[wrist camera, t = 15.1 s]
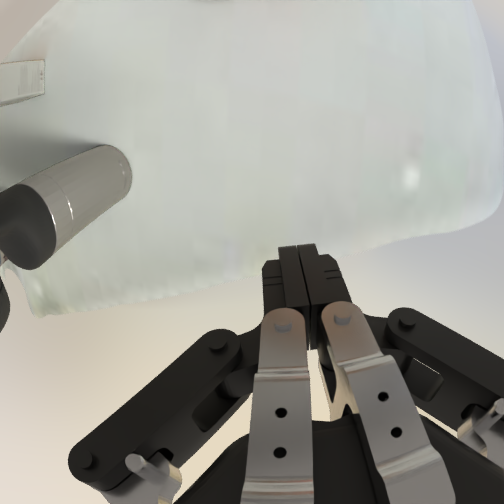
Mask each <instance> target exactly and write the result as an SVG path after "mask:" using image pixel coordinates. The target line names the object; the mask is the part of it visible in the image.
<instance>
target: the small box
mask: <svg viewBox="0 0 504 504" xmlns="http://www.w3.org/2000/svg"><path fill="white" fill-rule="evenodd" d="M44 62H45V61H44V60H32V61H21V62H11V63H3V64H0V107H1V106H5V105H9V104H14V103H18V102H21V101H24V100H27V99H30V98H33V97H36V96H39V95H42V94H44Z"/></svg>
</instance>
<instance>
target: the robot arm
mask: <svg viewBox="0 0 504 504" xmlns="http://www.w3.org/2000/svg"><path fill="white" fill-rule="evenodd" d="M131 183H132V173H131V168H130V165H129V162H128V160H127V158H126V157H125V156H124V155H123V153H122V152H121V151H119V150H118V149H116V148H115V147H112V146H109V145H102V146H98V147H96V148H93V149H90V150H88V151H86V152H83V153H80V154H78V155H76V156H73V157H71V158H69V159H66V160H64V161H62V162H60V163H58V164H55V165H53V166H51V167H49V168H47V169H45V170H43V171H41V172H39V173H37V174H35V175H33V176H31V177H29V178H27V179H25V180H23V181H21V182H20V183H18V184H16V185H14V186H12V187H10V188H8V189H7V190H5V191H3V192H1V193H0V250H1V251H2V252H3V254H4V255H5V256H6V257H7V258H8V259H9V260H10V261H11V262H12V263H14V264H15V265H16V266H18V267H20V268H22V269H26V270H33V269H36V268H38V267H40V266H41V265H42V264H43V263H44V262H46V261H47V260H48V259H49V258H50V257H51V256H52V255H53V254H54V253H56V252H57V251H58V250H59V249H60V248H61V247H62V246H64V245H65V244H66V243H67V242H68V241H69V240H71V239H72V238H73V237H74V236H75V235H77V234H78V233H79V232H80V231H81V230H83V229H84V228H85V227H86V226H88V225H89V224H90V223H91V222H93V221H94V220H95V219H96V218H98V217H99V216H100V215H101V214H103V213H104V212H105V211H107V210H108V209H109V208H111V207H112V206H113V205H115V204H116V203H117V202H119V201H120V200H121V199H123V198H124V197H125V196H126V195H127V193H128V191H129V189H130V187H131ZM278 252H279V259H278V260H269V261H266V263H265V264H264V266H263V268H262V278H263V279H262V280H263V300H264V317H263V320H262V322H261V323H260V324H259V325H258V326H257V327H256V328H255V329H253V330H251V331H249V332H247V333H244V334H241V335H238V336H237V335H236V334H235V333H234V332H232V331H230V330H226V329H216V330H212V331H209V332H207V333H206V334H204V335H203V336H202V337H201V338H200V339H198V340H197V341H196V342H195V343H194V344H193V345H192V346H191V347H190V348H188V349H187V350H186V351H185V352H184V353H183V354H182V355H180V356H179V358H177V359H176V360H175V361H174V362H173V363H171V365H169V366H168V367H167V368H166V369H165V370H163V371H162V372H161V373H160V374H159V375H158V376H157V377H155V378H154V379H153V380H152V381H151V382H150V383H149V384H147V385H146V386H145V387H144V388H143V389H142V390H140V391H139V392H138V393H137V394H136V395H135V396H133V397H132V398H131V399H130V400H129V401H128V402H126V403H125V404H124V405H123V406H122V407H120V408H119V409H118V410H117V411H116V412H115V413H114V414H112V415H111V416H110V417H109V418H107V419H106V420H105V421H104V422H103V423H101V424H100V425H99V426H98V427H97V428H95V429H94V430H93V431H92V432H91V433H89V434H88V435H87V436H86V437H84V438H83V439H82V440H81V441H80V442H78V443H77V444H76V445H75V446H74V447H73V448H72V449H71V451H70V453H69V457H68V465H69V469H70V471H71V473H72V475H73V476H74V477H75V478H76V479H78V480H79V481H81V482H83V483H85V484H87V485H89V486H91V487H92V488H94V489H96V490H98V491H100V492H101V494H102V495H103V496H104V497H105V498H106V499H107V501H108V502H109V503H110V504H172V500H173V497H174V495H175V494H176V493H177V491H178V490H179V489H180V487H181V484H182V476H181V473H180V471H179V468H180V467H181V466H182V465H183V464H184V463H185V462H186V461H187V460H188V459H190V457H192V456H193V455H194V454H195V453H196V452H197V451H198V450H199V449H200V448H201V447H202V446H203V445H204V444H205V443H206V442H207V441H208V440H209V439H210V438H211V437H212V436H213V435H214V434H215V433H216V432H217V430H219V429H220V428H221V426H222V425H223V424H224V423H225V422H226V421H227V420H228V419H229V418H230V417H231V416H232V415H233V414H234V413H235V412H236V411H237V410H238V409H239V407H240V406H241V405H242V404H243V403H244V402H245V401H246V400H247V399H248V397H249V395H250V394H251V393H253V398H252V410H251V421H250V433H249V434H246V435H245V436H243V437H241V438H239V439H238V440H236V441H235V442H233V443H232V444H231V445H230V446H228V447H227V448H226V449H225V450H224V452H223V453H222V454H221V455H220V456H219V457H218V458H217V459H216V460H215V461H214V463H213V464H212V465H211V466H210V467H209V468H208V469H207V470H206V471H205V472H204V473H203V474H202V475H201V476H200V477H199V478H198V479H197V481H195V483H194V484H193V485H192V486H191V487H190V488H189V489H188V490H187V491H186V492H185V493H184V494H183V495H182V496H181V497H180V498H178V500H176V501H175V502H174V503H173V504H504V359H502V358H501V357H499V356H497V355H495V354H494V353H492V352H490V351H488V350H487V349H485V348H483V347H481V346H480V345H478V344H476V343H474V342H473V341H471V340H469V339H467V338H465V337H464V336H462V335H460V334H458V333H457V332H455V331H453V330H451V329H449V328H447V327H446V326H444V325H442V324H440V323H438V322H437V321H435V320H433V319H431V318H429V317H427V316H426V315H424V314H422V313H420V312H418V311H416V310H414V309H411V308H398V309H395V310H393V311H392V312H391V313H390V314H389V316H388V318H383V317H374V316H369V315H366V314H363V313H362V311H361V309H360V308H359V307H358V306H356V305H355V304H353V303H352V301H351V297H350V295H349V292H348V290H347V287H346V284H345V282H344V279H343V278H342V274H341V271H340V269H339V267H338V264H337V261H336V260H335V259H334V258H332V257H331V256H330V255H329V254H325V255H319V254H318V251H317V248H316V246H315V244H304V245H297V248H296V245H295V246H285V247H278ZM9 312H10V301H9V297H8V294H7V292H6V289H5V287H4V284H3V282H2V280H1V277H0V332H1V331H2V329H3V328H4V326H5V324H6V321H7V319H8V316H9ZM309 344H310V350H313V349H317V350H318V355H319V362H318V367H319V371H320V374H321V378H322V382H323V386H324V389H325V393H326V397H327V400H328V404H329V409H330V420H331V421H330V422H326V421H314V420H312V416H311V394H310V376H309V371H308V362H307V350H309ZM414 358H415V359H416V360H415V359H414ZM417 360H418V361H420V362H421V363H420V362H418V361H417ZM422 363H423V364H425V365H426V366H425V365H423V364H422ZM427 366H428V367H430V368H431V369H430V368H428V367H427ZM432 369H433V370H435V371H436V372H435V371H433V370H432ZM437 372H438V373H439V374H438V373H437ZM440 374H441V375H440ZM415 405H416V406H417V407H419V408H420V409H422V410H423V411H425V412H426V413H428V414H430V415H431V416H433V417H434V418H436V419H438V420H439V421H441V422H442V423H444V424H445V425H447V426H449V427H450V428H452V429H454V430H455V431H457V436H458V439H457V438H456V437H454V436H453V435H451V434H450V433H449V432H447V431H446V430H444V429H443V428H441V427H440V426H438V425H437V424H435V423H434V422H433V421H431V420H429V419H428V418H427V417H425V416H423V415H421V414H419V413H418V411H417V409H416V406H415Z"/></svg>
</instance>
